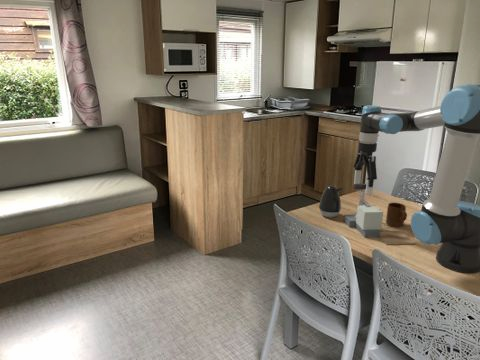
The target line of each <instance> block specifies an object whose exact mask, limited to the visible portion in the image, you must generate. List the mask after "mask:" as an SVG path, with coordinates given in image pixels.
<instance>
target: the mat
mask: <svg viewBox="0 0 480 360" xmlns="http://www.w3.org/2000/svg"><path fill="white" fill-rule="evenodd" d="M378 238H380V240H381V241H382V242H383V243H384V244H385V245H386V246H394V245H397V246H398V245H399V246H401V245H416V242H415V241H413V240H412V239H411V238H410V237H409V236H408V235H407V234H406V233H404V232H403V231H401V230H397V231H396V230H395V231H394V230H392V231H391V230H389V231H380V236H379V237H378Z"/></svg>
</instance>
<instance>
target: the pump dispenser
mask: <svg viewBox="0 0 480 360" xmlns="http://www.w3.org/2000/svg"><path fill="white" fill-rule="evenodd" d="M343 190H344V189H343V187H339V188H337V187H336V186H335V185H328V186H327V187H326V188H324V190H323V193H322V195H321V197H320V201H319V205H318V208H319V211H320V213H321V215H322V216H323V217H325V218H331V219H332V218H335V217H337V216H338V215H339V214H340V211H341V210H342V205H341V204H342V203H341V202H342V201H341V197H340V196H341V195H340V193H339V192H340V191H343Z"/></svg>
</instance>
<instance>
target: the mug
mask: <svg viewBox="0 0 480 360" xmlns="http://www.w3.org/2000/svg"><path fill="white" fill-rule="evenodd" d="M406 208H407V206H406V205H405V204H404V203H399V202H390V203H388V206H387V208H386V209H387V210H386V218H385V223H386V225H387V226H389V227H393V228H402V227H403V226H404V224H405V221H406V220H407V218H408V214H407V212H406Z"/></svg>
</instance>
